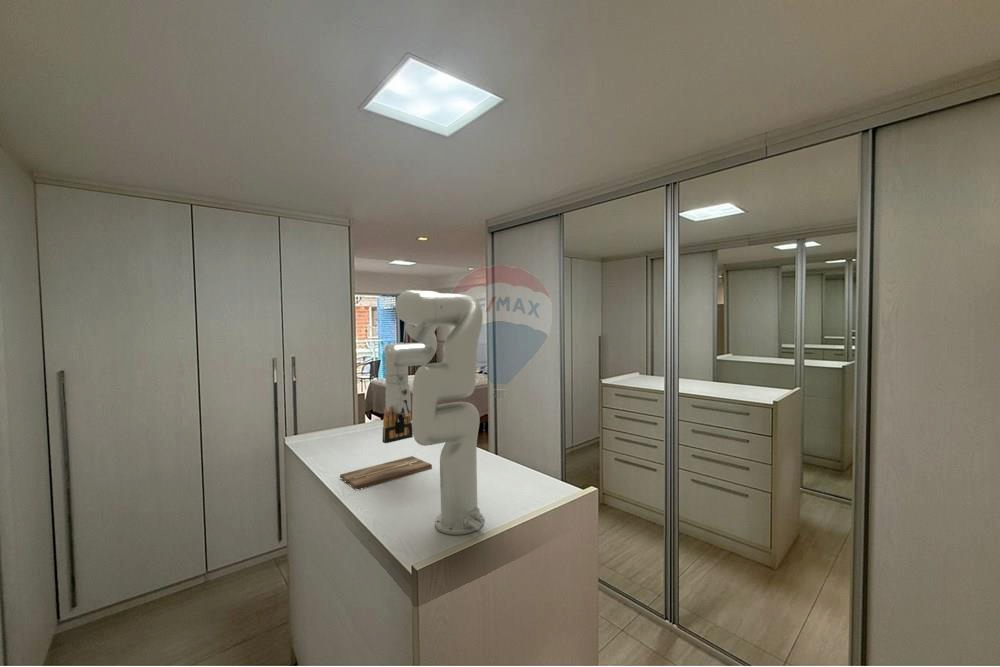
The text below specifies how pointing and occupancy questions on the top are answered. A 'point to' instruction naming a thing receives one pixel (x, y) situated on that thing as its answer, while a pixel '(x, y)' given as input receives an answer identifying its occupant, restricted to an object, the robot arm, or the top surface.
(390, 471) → the walnut board
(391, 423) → the ammunition clip
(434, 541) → the top surface
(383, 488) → the top surface
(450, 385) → the robot arm
